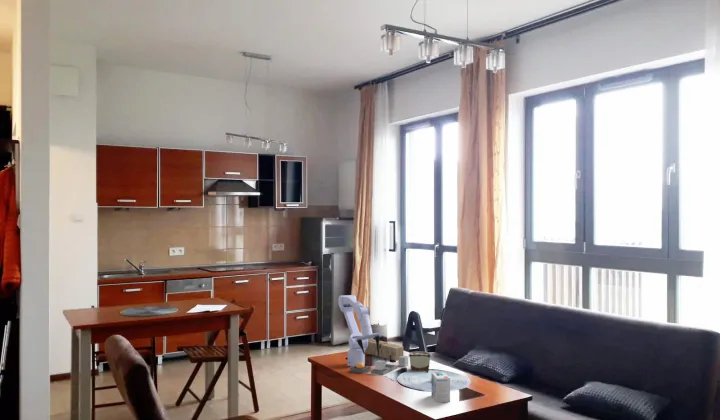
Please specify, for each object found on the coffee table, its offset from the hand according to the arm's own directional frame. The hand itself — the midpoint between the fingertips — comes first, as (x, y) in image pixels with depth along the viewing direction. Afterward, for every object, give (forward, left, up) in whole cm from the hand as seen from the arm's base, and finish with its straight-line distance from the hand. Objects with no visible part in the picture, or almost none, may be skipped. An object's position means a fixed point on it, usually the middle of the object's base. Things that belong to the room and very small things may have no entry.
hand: (371, 352), depth 303 cm
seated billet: (+5, +1, -11) cm, 12 cm away
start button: (-6, -2, -10) cm, 11 cm away
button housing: (-6, -2, -12) cm, 13 cm away
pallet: (+5, +5, -12) cm, 14 cm away
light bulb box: (+49, -22, -12) cm, 55 cm away
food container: (+20, +18, -12) cm, 30 cm away
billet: (+9, +20, -12) cm, 25 cm away
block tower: (-14, +40, -12) cm, 44 cm away
